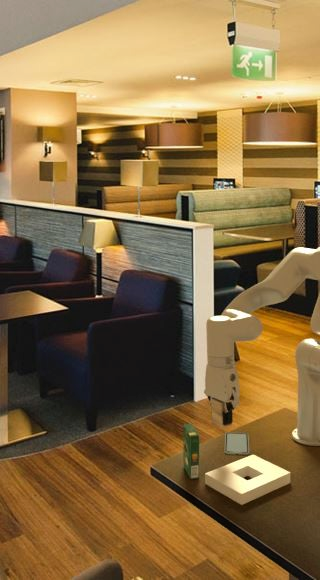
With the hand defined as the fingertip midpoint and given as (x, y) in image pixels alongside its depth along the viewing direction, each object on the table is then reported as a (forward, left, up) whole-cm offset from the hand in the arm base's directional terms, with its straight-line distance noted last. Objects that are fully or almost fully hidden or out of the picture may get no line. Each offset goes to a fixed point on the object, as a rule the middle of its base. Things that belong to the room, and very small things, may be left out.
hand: (222, 420), depth 179 cm
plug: (0, 0, -1) cm, 1 cm away
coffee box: (+11, 0, -13) cm, 17 cm away
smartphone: (-12, -6, -13) cm, 18 cm away
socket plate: (+3, +14, -12) cm, 19 cm away
